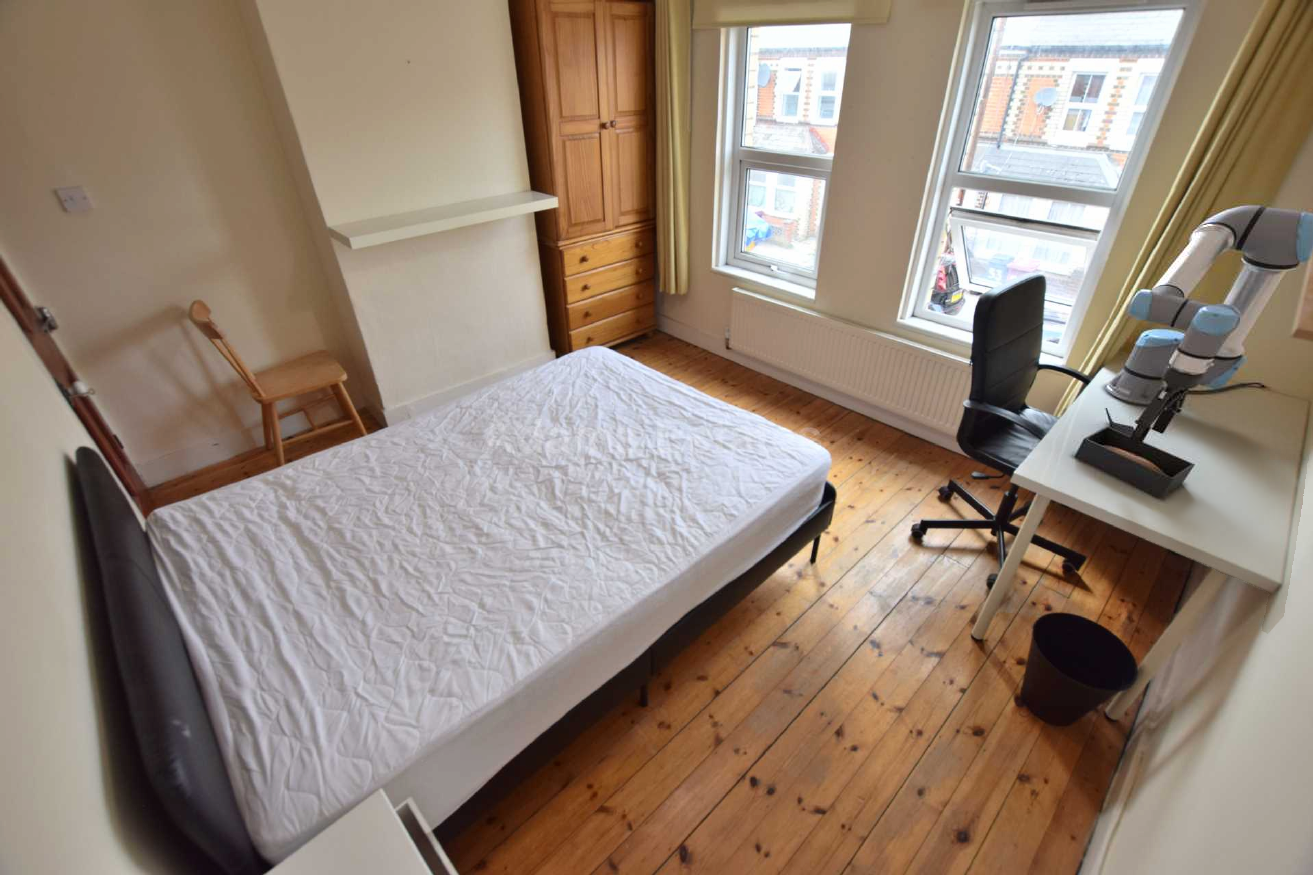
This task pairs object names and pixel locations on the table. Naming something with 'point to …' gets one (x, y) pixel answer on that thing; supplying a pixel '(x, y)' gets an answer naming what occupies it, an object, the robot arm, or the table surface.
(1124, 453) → the sunglasses case
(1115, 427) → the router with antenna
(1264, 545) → the table surface
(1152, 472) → the bin
